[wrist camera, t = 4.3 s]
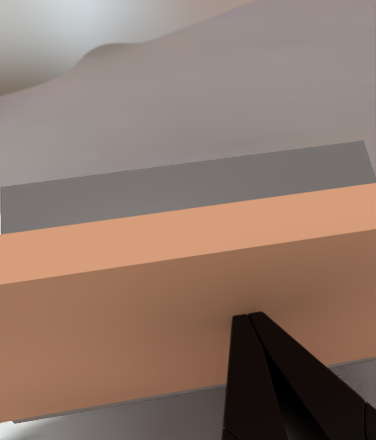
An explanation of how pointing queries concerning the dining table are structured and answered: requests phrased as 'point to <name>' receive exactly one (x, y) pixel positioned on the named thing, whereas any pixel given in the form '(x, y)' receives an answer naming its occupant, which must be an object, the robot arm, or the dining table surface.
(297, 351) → the robot arm
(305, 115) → the dining table surface
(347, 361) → the lid
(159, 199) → the cable box
